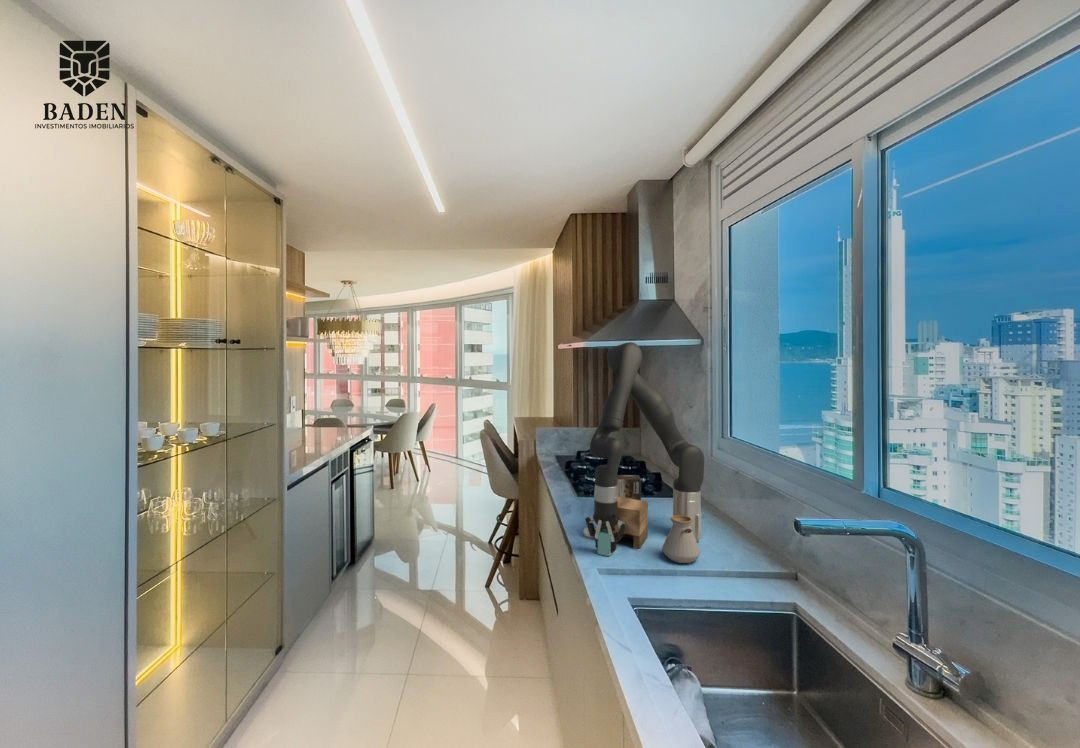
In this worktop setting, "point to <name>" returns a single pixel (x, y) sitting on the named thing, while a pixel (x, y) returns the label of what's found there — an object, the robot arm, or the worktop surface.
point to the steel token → (587, 533)
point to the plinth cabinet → (634, 520)
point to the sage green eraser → (604, 543)
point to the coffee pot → (681, 541)
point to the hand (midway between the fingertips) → (605, 550)
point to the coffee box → (629, 486)
